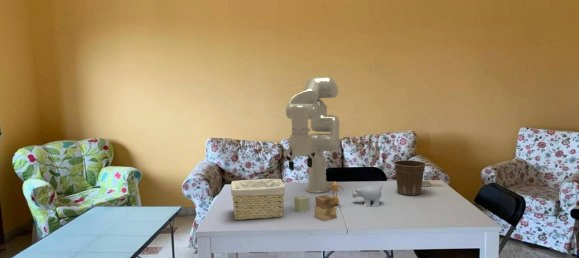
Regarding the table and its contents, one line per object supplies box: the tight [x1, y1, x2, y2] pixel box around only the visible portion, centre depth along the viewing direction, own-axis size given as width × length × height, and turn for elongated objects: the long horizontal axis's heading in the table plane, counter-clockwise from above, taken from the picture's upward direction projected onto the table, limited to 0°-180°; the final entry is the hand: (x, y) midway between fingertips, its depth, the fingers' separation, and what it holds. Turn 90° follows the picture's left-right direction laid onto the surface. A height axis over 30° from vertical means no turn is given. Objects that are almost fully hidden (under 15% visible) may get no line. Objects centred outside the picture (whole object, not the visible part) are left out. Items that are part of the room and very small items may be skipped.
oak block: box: [314, 204, 337, 221], centre depth 173 cm, size 7×7×5 cm
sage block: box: [294, 195, 310, 213], centre depth 183 cm, size 5×5×6 cm
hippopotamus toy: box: [351, 183, 384, 207], centre depth 190 cm, size 11×15×10 cm
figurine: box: [327, 181, 345, 206], centre depth 188 cm, size 8×6×12 cm
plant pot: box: [393, 159, 427, 197], centre depth 205 cm, size 16×16×16 cm
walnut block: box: [315, 194, 336, 209], centre depth 172 cm, size 6×6×4 cm
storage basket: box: [230, 178, 286, 221], centre depth 178 cm, size 24×16×15 cm
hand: (300, 168), depth 181 cm, fingers open, 9 cm apart
